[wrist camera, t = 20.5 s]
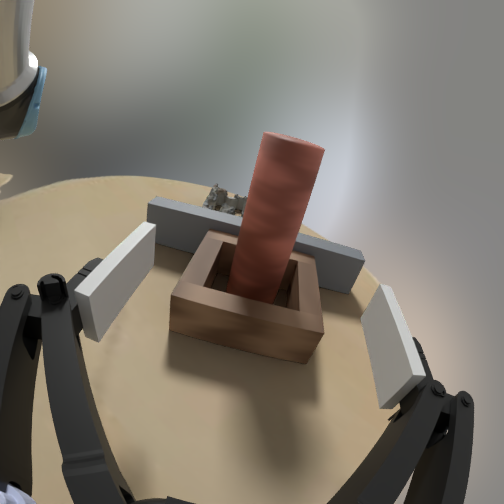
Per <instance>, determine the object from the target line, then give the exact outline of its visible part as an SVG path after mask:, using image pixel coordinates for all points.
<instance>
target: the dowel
mask: <svg viewBox="0 0 504 504" xmlns="http://www.w3.org/2000/svg"><path fill="white" fill-rule="evenodd" d="M324 151H325V150H324V148H322V147H320V146H318V145H315V144H312V143H309V142H307V141H304V140H301V139H298V138H294V137H290V136H287V135H282V134H278V133H272V132H264V133H263V137H262V141H261V145H260V149H259V153H258V157H257V161H256V165H255V169H254V174H253V177H252V181H251V186H250V190H249V194H248V198H247V202H246V206H245V210H244V215H243V219H242V223H241V227H240V232H239V236H238V240H237V245H236V249H235V253H234V258H233V262H232V266H231V271H230V275H229V280H228V284H227V288H226V293H229V294H232V295H236V296H240V297H244V298H248V299H252V300H256V301H260V302H264V303H268V304H272V305H273V303H274V300H275V298H276V295H277V292H278V289H279V287H280V284H281V281H282V278H283V275H284V273H285V270H286V267H287V264H288V261H289V258H290V255H291V253H292V250H293V247H294V244H295V241H296V238H297V235H298V232H299V229H300V226H301V223H302V220H303V217H304V214H305V211H306V208H307V205H308V202H309V199H310V196H311V193H312V189H313V186H314V183H315V180H316V177H317V174H318V170H319V167H320V164H321V160H322V157H323V154H324Z"/></svg>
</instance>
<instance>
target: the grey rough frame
mask: <svg viewBox="0 0 504 504" xmlns="http://www.w3.org/2000/svg"><path fill="white" fill-rule="evenodd" d="M227 195H228V194H227V191H226V190H225V189H222V188H219V187H218V184H215V185H214V186H213V188H212V189H211V192H210V194H209V195H208V196H207V199H206V200H205V202H204V203H203V206H202V207H203V208H207V209H211V210H215V206H216V205H221V208H220V210H219V212H223V213H227V214H231V215H235V210H236V209H239V210H242V215H241V217H242V218H243V215H244V210H245V206H246V202H247V197H246V196H245V197H244V198H242V197H239V196H238V194H236V195H235V196H234V198H232V197H228V196H227ZM239 217H240V216H239Z"/></svg>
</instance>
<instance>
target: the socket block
mask: <svg viewBox="0 0 504 504" xmlns="http://www.w3.org/2000/svg"><path fill="white" fill-rule="evenodd" d="M237 240H238V236H236V235H232V234H228V233H225V232H221V231H217V230H213V229H209V230H208V232H207V234H206V235H205V237H204V239H203V240H202V242H201V244H200V245H199V247H198V249H197V250H196V252H195V254H194V256H193V257H192V259H191V261H190V262H189V264H188V266H187V267H186V269H185V271H184V273H183V274H182V276H181V278H180V280H179V281H178V283H177V285H176V287H175V288H174V290H173V292H172V294H171V301H170V321H169V330H171V331H174V332H177V333H181V334H184V335H187V336H191V337H194V338H197V339H201V340H204V341H208V342H212V343H215V344H219V345H223V346H227V347H231V348H235V349H239V350H243V351H247V352H251V353H255V354H260V355H264V356H269V357H273V358H278V359H283V360H288V361H293V362H298V363H304V364H306V363H307V362H308V360H309V358H310V357H311V355H312V353H313V352H314V350H315V348H316V347H317V345H318V343H319V342H320V340H321V338H322V336H323V335H324V326H323V317H322V309H321V301H320V293H319V285H318V278H317V271H316V264H315V257H314V256H312V255H308V254H304V253H301V252H297V251H293V250H292V253H291V255H290V258H289V261H288V264H287V267H286V270H285V273H284V275H283V278H282V281H281V284H280V287H279V289H283V290H287V300H286V308H284V307H280V306H276V305H272V304H268V303H264V302H260V301H256V300H252V299H248V298H244V297H240V296H236V295H232V294H229V293H225V292H221V291H217V290H214V289H211V286H212V284H213V281H214V279H215V276H216V274H217V272H218V273H221V274H225V275H230V271H231V266H232V262H233V258H234V253H235V249H236V245H237Z"/></svg>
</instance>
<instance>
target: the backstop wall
mask: <svg viewBox="0 0 504 504" xmlns="http://www.w3.org/2000/svg"><path fill="white" fill-rule="evenodd" d="M242 219H243V218H242V217H239V216H235V215H231V214H227V213H223V212H219V211H215V210H211V209H207V208H203V207H199V206H195V205H191V204H187V203H183V202H179V201H174V200H170V199H166V198H162V197H155V198H154V199H153V200H151V201H150V202H149V203H148V209H147V222H148V223H152V224H156V234H155V243H157V244H161V245H164V246H168V247H172V248H175V249H179V250H182V251H186V252H190V253H193V254H195V252H196V250H197V249H198V247H199V245H200V244H201V242H202V240H203V239H204V237H205V235H206V234H207V232H208V230H209V229H213V230H217V231H221V232H225V233H228V234H232V235H236V236H239V232H240V227H241V223H242ZM293 251H297V252H301V253H304V254H308V255H312V256H314V257H315V264H316V271H317V278H318V285H319V287H322V288H326V289H330V290H334V291H338V292H342V293H346V294H349V292H350V291H351V289H352V287H353V285H354V283H355V281H356V279H357V277H358V275H359V273H360V271H361V269H362V266H363V264H364V262H365V259H364V257H363V255H362V252H361V251H360V250H357V249H353V248H350V247H347V246H343V245H340V244H337V243H333V242H330V241H326V240H323V239H319V238H316V237H312V236H309V235H305V234H302V233H298V235H297V238H296V241H295V244H294V247H293Z"/></svg>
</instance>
